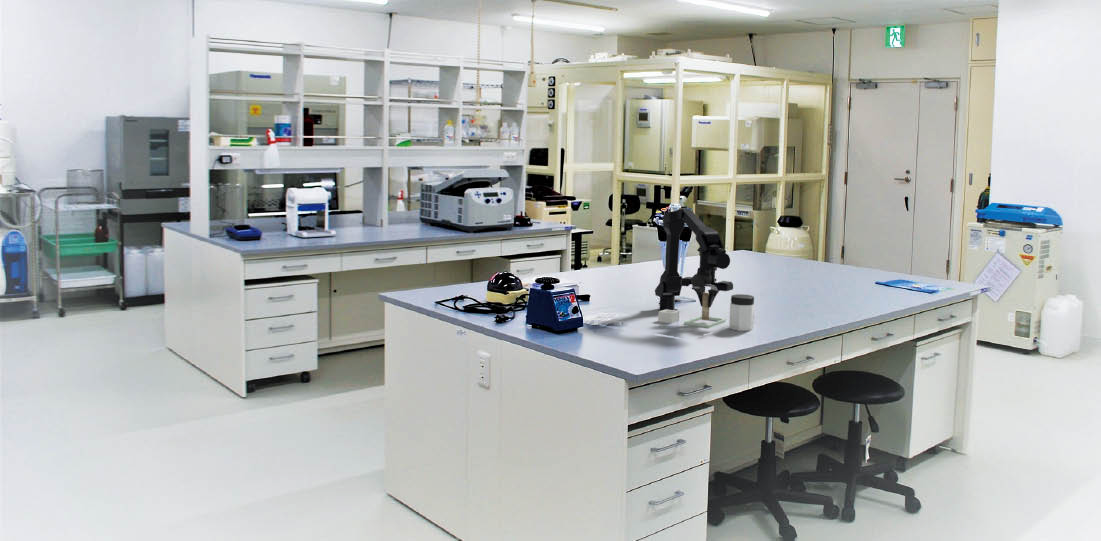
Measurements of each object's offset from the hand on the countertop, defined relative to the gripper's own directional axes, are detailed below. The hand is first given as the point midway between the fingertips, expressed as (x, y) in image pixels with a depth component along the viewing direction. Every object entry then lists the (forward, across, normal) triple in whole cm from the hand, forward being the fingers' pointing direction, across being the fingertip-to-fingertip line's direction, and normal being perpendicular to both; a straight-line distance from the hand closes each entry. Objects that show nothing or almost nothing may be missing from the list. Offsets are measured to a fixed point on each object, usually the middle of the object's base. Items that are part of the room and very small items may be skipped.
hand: (705, 306), depth 328 cm
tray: (+7, 0, 0) cm, 7 cm away
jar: (+7, +13, +3) cm, 15 cm away
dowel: (+5, 0, 0) cm, 5 cm away
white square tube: (+7, -12, -6) cm, 15 cm away
